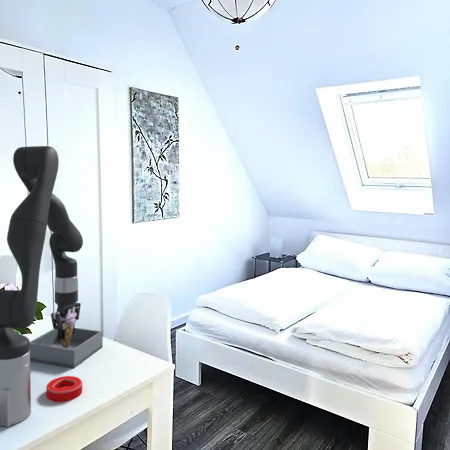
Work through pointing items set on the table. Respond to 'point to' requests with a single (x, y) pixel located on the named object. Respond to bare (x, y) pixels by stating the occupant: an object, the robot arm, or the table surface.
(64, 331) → the robot arm
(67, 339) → the ice cream cone
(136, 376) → the table surface
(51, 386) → the decorative ornament
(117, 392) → the table surface
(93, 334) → the bin
